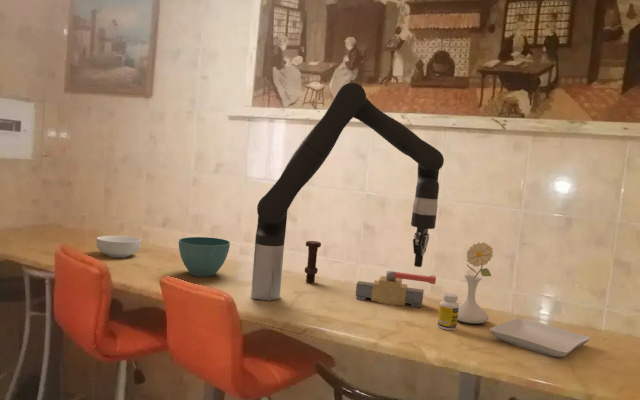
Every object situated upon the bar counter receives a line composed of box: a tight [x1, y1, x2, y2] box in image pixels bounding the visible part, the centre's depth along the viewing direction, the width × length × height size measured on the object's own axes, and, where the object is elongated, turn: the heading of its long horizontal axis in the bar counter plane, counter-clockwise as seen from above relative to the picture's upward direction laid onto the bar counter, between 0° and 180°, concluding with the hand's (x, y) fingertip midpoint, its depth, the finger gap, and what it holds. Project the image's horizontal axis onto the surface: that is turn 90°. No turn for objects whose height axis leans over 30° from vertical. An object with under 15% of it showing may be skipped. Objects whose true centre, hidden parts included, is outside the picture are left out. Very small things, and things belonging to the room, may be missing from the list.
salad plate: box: [488, 317, 591, 358], centre depth 156 cm, size 21×21×3 cm
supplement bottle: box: [437, 292, 460, 331], centre depth 163 cm, size 5×5×10 cm
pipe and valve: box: [355, 275, 425, 309], centre depth 187 cm, size 7×22×8 cm, turn 77°
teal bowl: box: [178, 236, 231, 278], centre depth 203 cm, size 18×18×12 cm
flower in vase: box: [457, 242, 494, 325], centre depth 170 cm, size 13×11×25 cm
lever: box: [385, 270, 437, 285], centre depth 185 cm, size 16×3×2 cm, turn 76°
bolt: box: [304, 240, 322, 284], centre depth 205 cm, size 6×5×15 cm
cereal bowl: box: [95, 235, 142, 259], centre depth 223 cm, size 17×17×7 cm
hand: (417, 266), depth 178 cm, fingers closed
